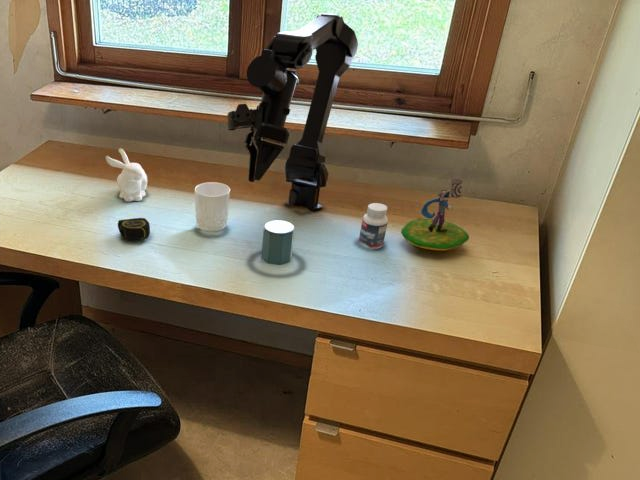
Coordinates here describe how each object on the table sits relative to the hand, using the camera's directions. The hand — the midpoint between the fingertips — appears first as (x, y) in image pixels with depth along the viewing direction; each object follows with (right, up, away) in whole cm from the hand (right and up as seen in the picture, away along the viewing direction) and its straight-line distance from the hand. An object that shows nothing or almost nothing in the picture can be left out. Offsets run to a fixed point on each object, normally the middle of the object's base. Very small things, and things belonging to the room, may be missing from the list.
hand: (253, 181), depth 138 cm
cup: (+6, -15, +6) cm, 16 cm away
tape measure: (-25, -8, +18) cm, 32 cm away
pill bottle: (+27, -11, +13) cm, 32 cm away
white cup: (-7, -6, +19) cm, 22 cm away
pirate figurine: (+40, -11, +11) cm, 44 cm away
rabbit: (-26, +5, +35) cm, 44 cm away
